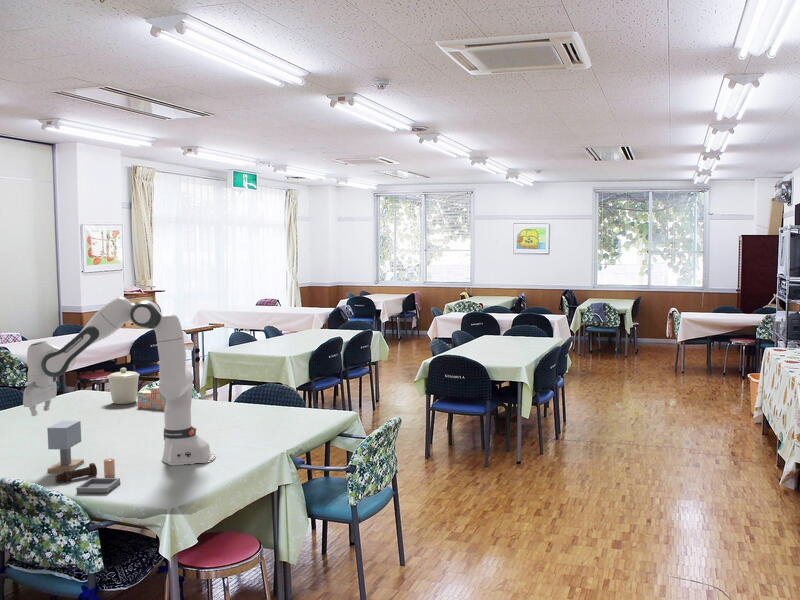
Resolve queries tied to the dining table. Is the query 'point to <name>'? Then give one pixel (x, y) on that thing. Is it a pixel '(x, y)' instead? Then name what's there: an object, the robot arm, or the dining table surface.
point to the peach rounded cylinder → (109, 468)
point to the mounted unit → (64, 444)
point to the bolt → (77, 473)
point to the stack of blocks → (151, 399)
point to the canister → (123, 386)
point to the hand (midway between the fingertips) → (40, 413)
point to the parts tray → (98, 486)
